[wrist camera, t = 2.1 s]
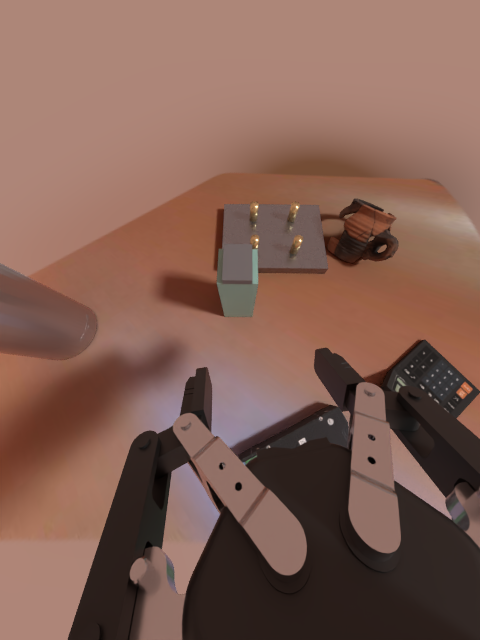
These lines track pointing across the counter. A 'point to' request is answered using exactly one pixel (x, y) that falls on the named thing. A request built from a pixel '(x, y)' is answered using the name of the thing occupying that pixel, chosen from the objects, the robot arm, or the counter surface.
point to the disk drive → (307, 432)
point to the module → (237, 279)
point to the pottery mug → (364, 234)
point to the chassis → (278, 235)
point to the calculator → (432, 378)
